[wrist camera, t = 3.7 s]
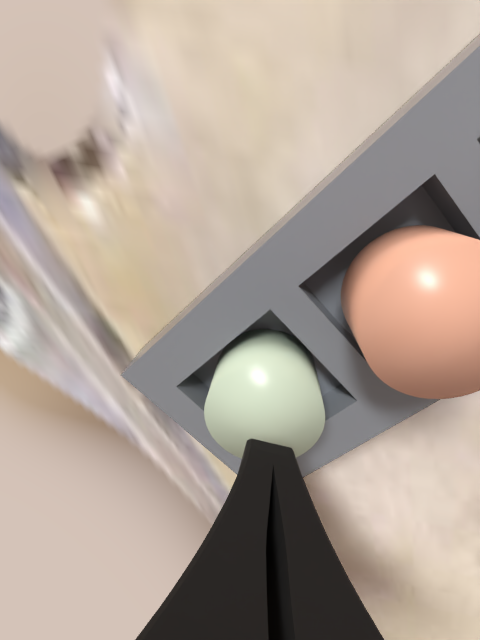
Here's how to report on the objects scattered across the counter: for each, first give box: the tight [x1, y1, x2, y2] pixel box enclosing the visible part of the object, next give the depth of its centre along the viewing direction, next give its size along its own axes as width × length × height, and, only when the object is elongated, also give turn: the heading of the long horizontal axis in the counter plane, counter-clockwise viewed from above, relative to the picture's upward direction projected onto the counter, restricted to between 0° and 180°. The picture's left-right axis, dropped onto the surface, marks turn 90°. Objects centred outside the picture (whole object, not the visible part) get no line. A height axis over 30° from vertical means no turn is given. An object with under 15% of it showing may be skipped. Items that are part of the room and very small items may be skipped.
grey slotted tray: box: [121, 34, 480, 477], centre depth 12 cm, size 9×21×2 cm, turn 134°
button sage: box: [204, 329, 325, 459], centre depth 13 cm, size 4×4×3 cm
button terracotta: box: [341, 225, 480, 399], centre depth 10 cm, size 4×4×3 cm
